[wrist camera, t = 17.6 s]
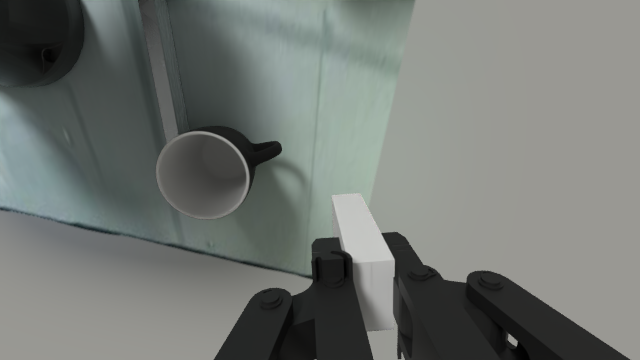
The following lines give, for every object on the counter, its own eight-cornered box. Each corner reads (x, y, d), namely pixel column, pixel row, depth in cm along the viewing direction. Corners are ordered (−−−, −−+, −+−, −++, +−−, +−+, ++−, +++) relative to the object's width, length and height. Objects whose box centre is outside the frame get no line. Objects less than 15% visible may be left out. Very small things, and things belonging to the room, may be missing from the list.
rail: (184, 187, 41) (170, 199, 37) (143, -24, 34) (120, -39, 30) (202, 186, 41) (191, 198, 37) (166, -25, 34) (146, -40, 30)
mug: (206, 196, 41) (177, 230, 32) (180, 130, 39) (138, 145, 29) (294, 171, 41) (291, 198, 31) (273, 103, 38) (262, 110, 29)
